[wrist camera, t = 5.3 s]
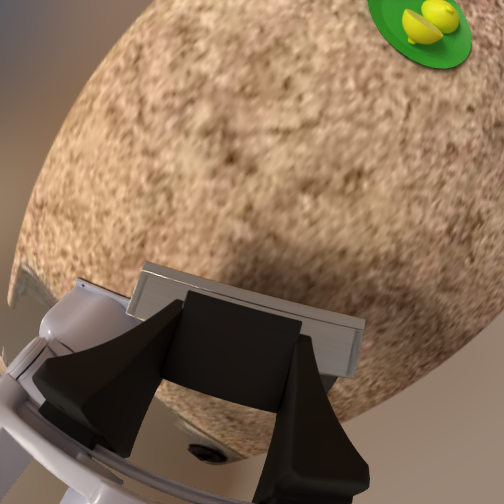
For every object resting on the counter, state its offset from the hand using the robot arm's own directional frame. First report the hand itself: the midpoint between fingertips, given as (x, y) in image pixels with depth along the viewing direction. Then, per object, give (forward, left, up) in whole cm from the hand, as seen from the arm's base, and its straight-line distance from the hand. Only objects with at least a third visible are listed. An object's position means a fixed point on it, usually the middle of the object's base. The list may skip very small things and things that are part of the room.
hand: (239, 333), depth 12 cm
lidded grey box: (0, -3, -5) cm, 6 cm away
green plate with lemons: (+7, +19, -10) cm, 23 cm away
